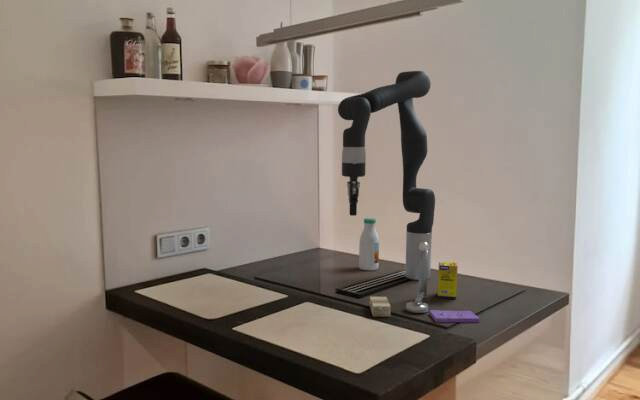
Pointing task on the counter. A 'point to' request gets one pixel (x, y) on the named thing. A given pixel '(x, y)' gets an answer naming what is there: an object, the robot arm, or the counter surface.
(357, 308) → the counter surface
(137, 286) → the counter surface
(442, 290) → the supplement box
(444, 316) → the sponges
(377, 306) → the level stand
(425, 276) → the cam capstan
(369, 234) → the milk bottle
